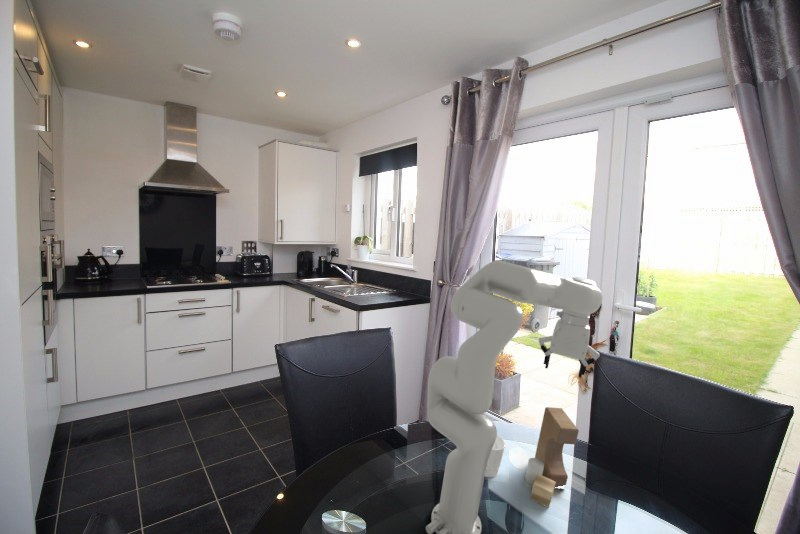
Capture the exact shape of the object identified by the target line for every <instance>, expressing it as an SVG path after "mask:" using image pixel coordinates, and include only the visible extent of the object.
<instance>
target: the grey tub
mask: <svg viewBox="0 0 800 534" xmlns="http://www.w3.org/2000/svg"><path fill="white" fill-rule="evenodd" d="M543 469H544V464H543V462H542V461H541V460H539V459H536V458H535V457H530V458H529V459H528V462H527V468H526V472H525V476H524V480H525V482H526V483H527V484H529V485H530V486H532V485H533V484H534V481H535V479H536V477H537V474H540V475H542V473H543Z"/></svg>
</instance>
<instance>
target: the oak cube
mask: <svg viewBox="0 0 800 534" xmlns="http://www.w3.org/2000/svg"><path fill="white" fill-rule="evenodd" d="M555 484H556V482H555V481H553V480H551V479H549V478H546V477H544V476H542V475H540V474H537V477H536V479H535V481H534V484H533V486H532V488H531V489H532V490H531V494H530V500H532V501H534V502H536V503H538V504H540V505H542V504H543V505H542V506H544V505H545V506H544V507H546V506H548V507H549V508H550V505H551V502H552V500H551V499H553V497H552V496H554V492H555V489H554V488H555ZM548 507H547V508H548Z"/></svg>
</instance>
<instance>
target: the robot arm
mask: <svg viewBox="0 0 800 534" xmlns="http://www.w3.org/2000/svg"><path fill="white" fill-rule="evenodd" d="M515 302H517V303H521V304H528V305H529V304H530V305H536V306H537V305H538V306H544V307H548V308H552V309H558V310H561V311H558V310H557V312H556V316H557V317H559V318H558V319H557V321H556V323H555V325H554V329H553V331H552V332H553V333H552V335H547V336H543V337H539V338H538V343H539V346H540V349H541V350H542V352H543V354H544V360H543V365H545V366H544V367H545V369H549V364H550V360H551V354H556V355H559V356H563V357H567V358H571V359H575V360H579V361H580V362H581V363H580V366H579V367H580V368H579V371H578V378H579V379H582V376H585V374H586V370H587V367H589V365H591V364H593V363H595V362H596V361H597V359H599V358H600V356H601V355H600V352H598V351H597V350H596V349H594V348H593V347H592V346H590V345H589V343H590V335H591V326H589V321H590V317H591V314H593V313H595V312H597V311H598V310H599V308H600V307H601V306H602V302H603V294H602V291H601V289H599V288H598V287H597V283H596V282H595V281H594V280H592V279H588V278H585V277H578V276H577V277H571V278H566V277H563V276H561V275H558V274H554V273H552V272H547V271H542V270H538V269H534V268H531V267H526V266H523V265H519V264H516V263H511V262H508V261H505V260H501V259H500V260H494V261H491V262H489V263H487V264H485V265H484V266H483V267H481V268H480V269H478V271H477V272H475V273H474V274H473V275H472V276H471V277H470V278H469V279H468V280H466V281H465V282H464V283H463V284H462V285H461V286H460V287H459V288H458V289H457V290H456V291H455V293H454V294H453V296H452V298H451V301H450V312H451V313H452V316H453V317H454V318H455V319H456V320H458V321H460V322H462V323H465V324H466V325H468V326H471V327H473V328H476V329H477V332H475V333H474V334H473V335H470V337H469V338H467V339H466V340H465V341H464V342H462V344H461V345H460V346H459V348H458V351H457V355H456V356H457V357H454V356H450V355H448V356H442V357H440V358H438V359H437V360H436V361H435V362H434V363H433V365H432V367H431V369H430V372H429V375H428V380H427V419H428V422H429V424H430V425H431V427H432V428H433V429H435V430H436V431H437V432H438V433H439V434H441V435H443V436H444V437H446V439H448V440H449V441H450V442H452V443H453V445H454V446H456V448H454V449H453V450H451V451H450V452H449V453H448V454H447V457H446V461H445V466H444V472H443V473H444V474H443V480H442V485H441V492H440V499H439V502H438V503H437V504H436V505H435V506H434V507H433V509H432V512H431V517H430V520H431V522H430V523H429V524H427V525H426V526H425V531H426V533H427V534H434V533H435V534H482V528H483V526H482V522H481V517H479V515H478V513H479V509H480V503H481V500H482V499H481V498H482V492H483V486H484V482H485V471H486V466H487V462H488V458H489V455H490V453H491V450H492V448H493V445H494V443H495V440H496V436H497V435H498V431H497V429H498V428H497V426H496V425H495V423H494V421H492V419H491V418H490V417H488V415H486V414H485V413H486V412H488V410H489V409H490V407H491V406H492V402H493V397H494V389H495V387H494V386H495V373H496V364H497V359H498V357H499V355H500V354H501V352H502V351H503V350H504V349H505V347H506V346H507V345H508V343H510V341H511V340H512V339H513V338H514V337H515V335H517V333H518V332H519V330H520V329H521V326H522V324H523V320H524V312H523V310H522V308H521V307H520V306H519V305H518V304H517V303H515ZM548 342H550V343H549V344H550V345H549V347H547V346H546V345H545V343H548ZM588 352H589V353H590V354H592V356H591V357H589V358H587V357H586V356H587V353H588Z"/></svg>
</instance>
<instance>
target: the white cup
mask: <svg viewBox="0 0 800 534" xmlns="http://www.w3.org/2000/svg"><path fill="white" fill-rule="evenodd" d="M505 448H506V441H505V440H504V439H503V438H502V437H501V435H498V434H497V436H496V440H495V443H494V445H493V448H492V450H491V453H490V455H489V458H488V462H487V466H486V471H485V476H484V478H485V477H486V478H494V477H497V475H498V473H499V469H500V466H501V463H502V461H503V460H502V459H503V456H504V452H505Z"/></svg>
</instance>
